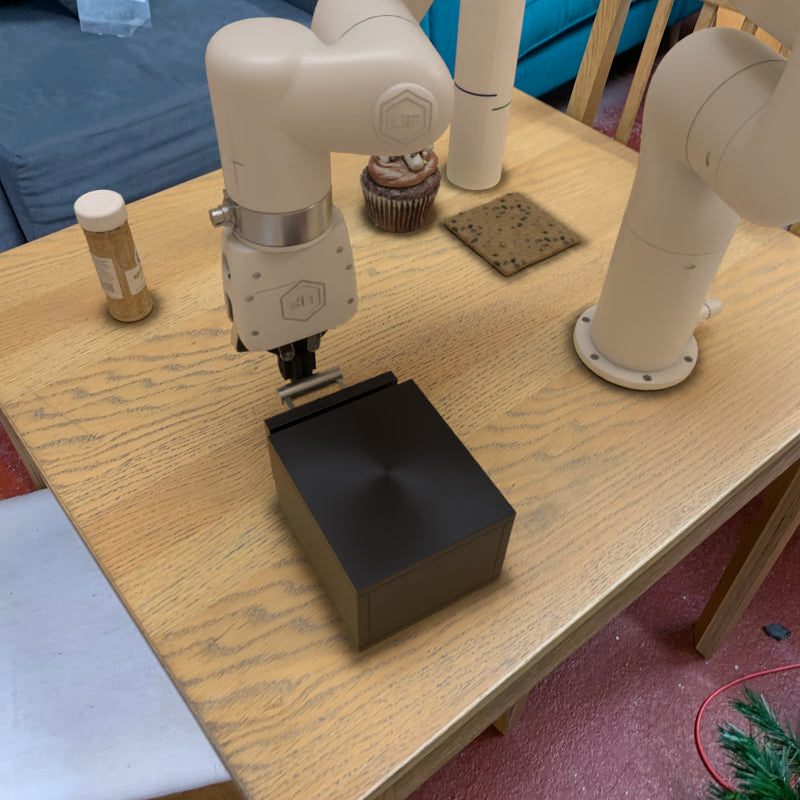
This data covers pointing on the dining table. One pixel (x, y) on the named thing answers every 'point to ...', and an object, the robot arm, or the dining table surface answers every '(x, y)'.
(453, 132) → the cylindrical container
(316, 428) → the black drawer box
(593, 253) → the dining table surface
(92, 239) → the spice jar
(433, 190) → the cupcake
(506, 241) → the cookie
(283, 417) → the black drawer
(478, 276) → the dining table surface
